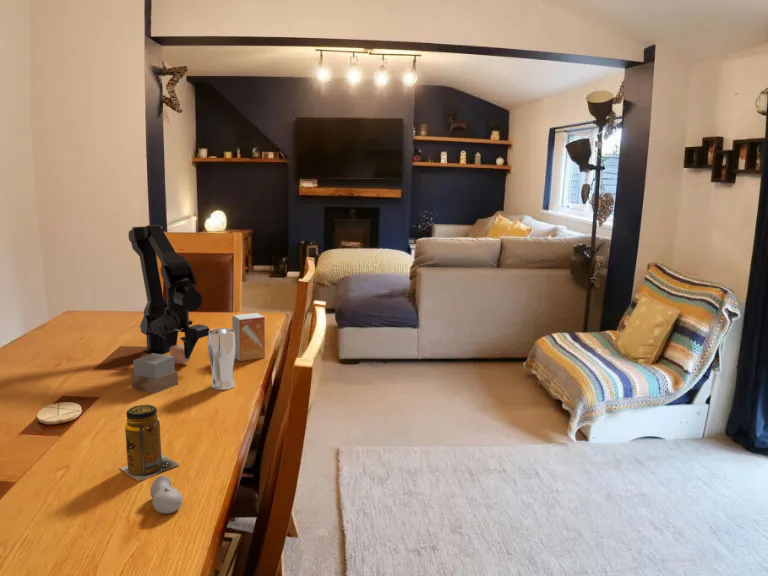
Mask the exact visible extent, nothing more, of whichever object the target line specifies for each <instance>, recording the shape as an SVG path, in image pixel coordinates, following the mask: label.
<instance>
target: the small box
mask: <svg viewBox="0 0 768 576" xmlns="http://www.w3.org/2000/svg"><path fill="white" fill-rule="evenodd" d="M231 318H232V319H231V321H232V325H231V326H232V329H233V330H234V334H235V344H236V352H235V360H237V361H239V362H245V361H251V360H258V359H260V360H261V359H264V358H265V357H266V347H265V346H266V342H265V341H266V336H265V335H266V333H265V332H266V331H265V329H266V328H265V327H266V325H265V324H266V323H265V322H266V321H265V320H266V319H265V316H264V315H262V314H260V313H258V312H253V313H243V314H236V315H232V316H231Z"/></svg>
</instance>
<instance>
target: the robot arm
mask: <svg viewBox="0 0 768 576" xmlns="http://www.w3.org/2000/svg"><path fill="white" fill-rule="evenodd" d="M128 240H129V242H130V244H131V247H132V250H133V251H134V252H135V254H137V255H138V256H139V260H140V261H139V262H140V266H141V267H140V268H141V272H142V278H143V283H144V288H145V289H144V290H145V295H146V301H147V303H146V305H145V307H144V309H143V317H142V319H141V322H140V325H139V327H140V333H142V334H144V335H145V336H146V348H145V349H143V351H142V352H144V353H148V354H152V353H156V354H163V353H167V352H170V347H171V346H174V345H178V337H179V333H184V336H182V337H179V338H180V340H181V341H182V343H183V345H184V351H185V358H186V359H188V358H190V359H191V355H192V353H193V351H194V348H195V347H196V344H197V343H198V341H199V339H202V338H204V337H205V338H206V337H208V331H210V327H209V326H207V325H206V324H205V325H204V324H199V323H198V324H194V325H193V320H190V314H189V312H193V311H197V310H198V309H199V308H200V307H201V305H203V304H202V303H203V297H202V294H201V293H200V292H199V291H197V290H196V287H195V286H197V285H198V284H197V277H196V275H195V273H194V270H193V268H192V266H191V264H190V263H189V261H188V260H187V259H186V258H185V257H184V256H182V255H181V254H179V253H177V251H176V250H175V248H174V247H173V245H172V243H171V242H170V240H169V239H168V237H167V235H166V233H165V229H164V227H163V225H161V224H150V225H149V224H148V225H147V224H146V225H145V226H132V228H131V229H130V230H129V231H128ZM157 257H158V259H159V261H160V264H161V265H160V271H159V265H158V260H157ZM160 275H161V276H160ZM161 278H162V280H163V282H164V287H165V288H166V300H165V298H164V294H163V289H162V288H163V287H162V282H161Z"/></svg>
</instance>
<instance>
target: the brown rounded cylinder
mask: <svg viewBox="0 0 768 576" xmlns="http://www.w3.org/2000/svg"><path fill="white" fill-rule="evenodd" d="M169 356H174V364H185V363H188V362H190V361H191V357H190V358H188V359H186V358H185V351H184V344H177V345H174V346H171V347H170V351H169Z"/></svg>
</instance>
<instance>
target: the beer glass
mask: <svg viewBox="0 0 768 576" xmlns="http://www.w3.org/2000/svg"><path fill="white" fill-rule="evenodd" d="M235 352H236V344H235V334H234V330H233V328H230V327H229V328H228V327H220V328H219V327H218V328H212V329H209V331H208V336H207V353H208V359H209V363H210V368H211V382H210V388H211V389H212V390H215V391H227V390H230V389H233V388H235V386H236V383H235V382H236V381H235V378H234V365H235V360H236V358H235Z"/></svg>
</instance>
